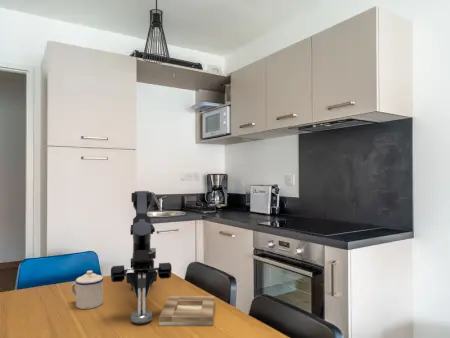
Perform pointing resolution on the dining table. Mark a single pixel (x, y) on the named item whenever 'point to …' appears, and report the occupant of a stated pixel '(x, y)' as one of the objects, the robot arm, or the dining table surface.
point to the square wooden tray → (188, 311)
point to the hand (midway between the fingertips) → (141, 297)
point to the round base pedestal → (140, 315)
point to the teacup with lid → (88, 290)
